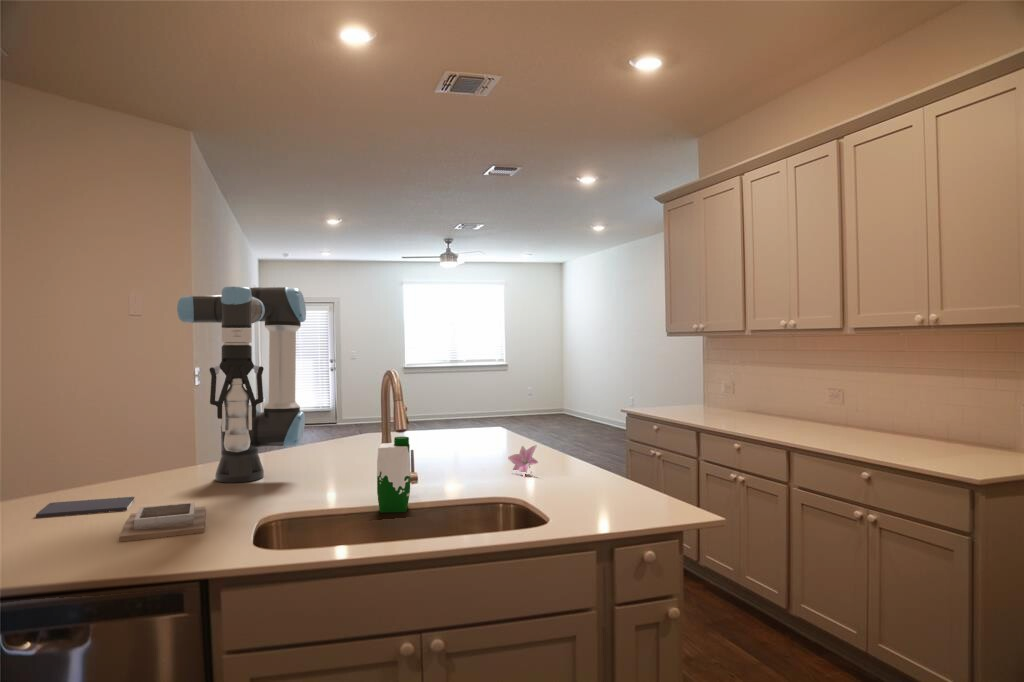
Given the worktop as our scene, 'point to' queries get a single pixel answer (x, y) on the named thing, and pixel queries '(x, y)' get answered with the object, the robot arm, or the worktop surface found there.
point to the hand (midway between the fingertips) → (236, 429)
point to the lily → (523, 459)
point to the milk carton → (393, 475)
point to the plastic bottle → (236, 417)
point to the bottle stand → (164, 521)
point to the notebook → (85, 507)
